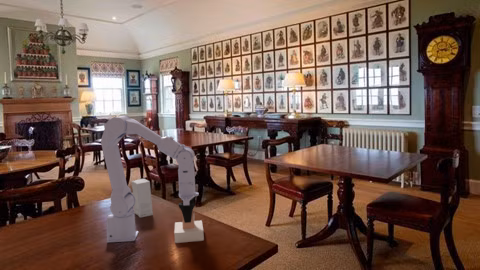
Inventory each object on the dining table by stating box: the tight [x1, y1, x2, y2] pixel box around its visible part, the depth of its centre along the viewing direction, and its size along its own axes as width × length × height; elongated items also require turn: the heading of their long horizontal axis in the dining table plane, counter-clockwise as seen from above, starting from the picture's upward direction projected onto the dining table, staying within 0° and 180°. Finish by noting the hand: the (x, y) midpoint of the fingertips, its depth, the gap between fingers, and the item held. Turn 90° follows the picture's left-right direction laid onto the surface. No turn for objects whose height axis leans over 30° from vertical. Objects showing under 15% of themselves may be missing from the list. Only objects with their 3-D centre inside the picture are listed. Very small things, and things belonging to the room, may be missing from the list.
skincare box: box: [131, 178, 154, 218], centre depth 146 cm, size 8×6×15 cm
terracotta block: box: [181, 210, 195, 229], centre depth 123 cm, size 4×4×5 cm
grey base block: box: [173, 219, 205, 244], centre depth 123 cm, size 10×10×4 cm
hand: (188, 218), depth 122 cm, fingers open, 7 cm apart
